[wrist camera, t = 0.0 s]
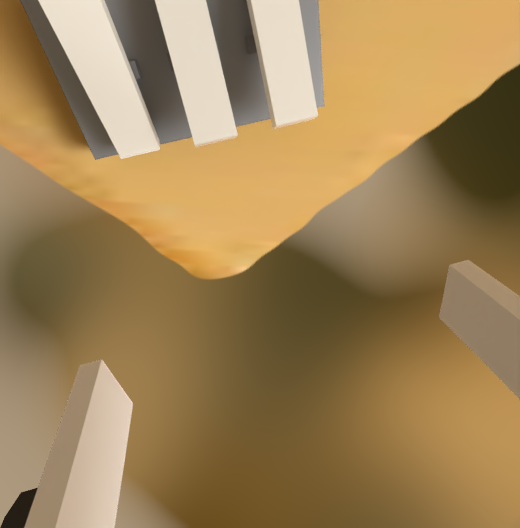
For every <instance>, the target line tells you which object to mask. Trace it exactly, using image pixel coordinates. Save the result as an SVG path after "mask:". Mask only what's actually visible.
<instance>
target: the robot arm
mask: <svg viewBox="0 0 520 528" xmlns="http://www.w3.org/2000/svg"><path fill="white" fill-rule="evenodd" d="M439 318H440V319H441V320H442V321H443V322H444V323H445V324H446V325H447V326H448V327H449V328H450V329H451V330H452V331H453V332H454V333H455V334H456V335H457V336H458V337H459V338H460V339H461V340H462V341H463V342H464V343H465V344H466V345H467V346H468V347H469V348H470V349H471V350H472V351H473V352H474V353H475V354H476V355H477V356H478V357H479V358H480V359H481V360H482V361H483V362H484V363H485V364H486V366H487V367H489V368H490V370H491V371H492V372H493V373H494V374H495V375H496V376H497V377H498V378H499V379H500V380H501V381H502V382H503V383H504V384H505V385H506V386H507V387H508V388H509V389H510V390H511V391H512V392H513V393H514V394H515V395H516V396H517V397H518V398H519V399H520V296H518V295H517V294H516V293H514V292H513V291H511V290H510V289H509V288H507V287H506V286H505V285H503V284H502V283H500V282H499V281H497V280H496V279H495V278H493V277H492V276H490V275H489V274H488V273H486V272H484V271H483V270H482V269H481V268H479V267H478V266H476V265H475V264H473V263H472V262H471V261H469V260H466V261H462V262H459V263H455V264H451V265H450V266H449V271H448V276H447V281H446V286H445V291H444V296H443V301H442V306H441V311H440V316H439ZM132 407H133V403H132V402H131V400H130V399H129V397H128V396H127V394H126V393H125V392H124V390H123V389H122V387H121V386H120V384H119V383H118V382H117V380H116V379H115V377H114V376H113V374H112V373H111V372H110V370H109V369H108V367H107V366H106V365H105V363H104V362H103V360H102V359H101V360H97V361H94V362H90V363H86V364H82V365H80V366H79V370H78V372H77V375H76V378H75V381H74V384H73V387H72V390H71V392H70V395H69V398H68V401H67V404H66V408H65V410H64V413H63V416H62V419H61V422H60V425H59V428H58V430H57V434H56V437H55V439H54V442H53V445H52V448H51V451H50V454H49V457H48V460H47V463H46V466H45V468H44V472H43V474H42V477H41V480H40V483H39V486H38V488H35V489H32V490H28V491H25V492H22V493H21V494H20V495H19V497H18V498H17V500H16V501H15V503H14V504H13V506H12V507H11V509H10V510H9V512H8V513H7V515H6V516H5V518H4V520H3V523H2V525H1V528H114V527H115V520H116V514H117V507H118V500H119V494H120V487H121V480H122V474H123V466H124V460H125V454H126V446H127V440H128V434H129V427H130V420H131V414H132Z"/></svg>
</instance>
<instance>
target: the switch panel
mask: <svg viewBox="0 0 520 528" xmlns="http://www.w3.org/2000/svg"><path fill="white" fill-rule="evenodd" d="M20 1H21V3H22V5H23V7H24V9H25V12H26V14H27V16H28V18H29V20H30V22H31V24H32V26H33V29H34V31H35V33H36V35H37V37H38V39H39V41H40V43H41V46H42V48H43V50H44V52H45V54H46V56H47V58H48V60H49V63H50V65H51V67H52V69H53V71H54V73H55V75H56V77H57V80H58V82H59V84H60V86H61V88H62V90H63V92H64V94H65V97H66V99H67V101H68V103H69V105H70V107H71V109H72V111H73V114H74V116H75V118H76V120H77V122H78V124H79V126H80V128H81V131H82V133H83V135H84V137H85V139H86V141H87V143H88V145H89V148H90V150H91V152H92V154H93V156H94V158H95V160H96V159H100V158H104V157H109V156H113V155H117V154H118V152H117V150H116V148H115V146H114V144H113V143H112V141H111V139H110V137H109V135H108V133H107V131H106V129H105V127H104V125H103V123H102V121H101V120H100V118H99V116H98V114H97V112H96V110H95V108H94V106H93V104H92V102H91V100H90V99H89V97H88V95H87V93H86V91H85V89H84V87H83V85H82V83H81V81H80V79H79V77H78V76H77V74H76V72H75V70H74V68H73V66H72V64H71V62H70V60H69V58H68V56H67V54H66V53H65V51H64V49H63V47H62V45H61V43H60V41H59V39H58V37H57V35H56V33H55V31H54V30H53V28H52V26H51V24H50V22H49V20H48V18H47V16H46V14H45V12H44V10H43V8H42V7H41V5H40V3H39V1H38V0H20ZM105 3H106V5H107V8H108V10H109V13H110V16H111V18H112V21H113V23H114V26H115V28H116V31H117V33H118V36H119V39H120V41H121V44H122V46H123V49H124V51H125V54H126V56H127V59H128V62H129V64H130V67H131V69H132V72H133V74H134V77H135V79H136V82H137V85H138V87H139V90H140V92H141V95H142V97H143V100H144V102H145V105H146V108H147V110H148V113H149V115H150V118H151V120H152V123H153V125H154V128H155V131H156V133H157V136H158V138H159V143H160V144H164V143H169V142H173V141H177V140H181V139H186V138H190V137H192V134H191V130H190V127H189V123H188V119H187V116H186V112H185V108H184V105H183V101H182V97H181V94H180V90H179V86H178V83H177V79H176V75H175V72H174V68H173V65H172V61H171V57H170V54H169V50H168V46H167V43H166V39H165V35H164V32H163V28H162V24H161V21H160V17H159V14H158V10H157V6H156V3H155V0H105ZM206 3H207V7H208V11H209V15H210V20H211V24H212V28H213V32H214V37H215V41H216V45H217V49H218V54H219V58H220V62H221V66H222V71H223V75H224V79H225V83H226V87H227V92H228V96H229V100H230V104H231V109H232V113H233V117H234V121H235V126H236V127H237V126H241V125H246V124H250V123H254V122H258V121H263V120H267V119H271V117H270V113H269V108H268V103H267V98H266V93H265V88H264V83H263V78H262V74H261V69H260V64H259V59H258V54H257V49H256V44H255V39H254V35H253V30H252V25H251V20H250V15H249V10H248V5H247V1H246V0H206ZM299 4H300V10H301V16H302V22H303V28H304V35H305V41H306V47H307V53H308V59H309V65H310V71H311V77H312V83H313V89H314V95H315V101H316V107H317V108H318V107H323V106H324V91H323V73H322V56H321V39H320V21H319V4H318V0H299Z"/></svg>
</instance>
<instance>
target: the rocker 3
mask: <svg viewBox="0 0 520 528" xmlns="http://www.w3.org/2000/svg"><path fill="white" fill-rule="evenodd" d="M246 1H247V5H248V10H249V15H250V20H251V25H252V30H253V35H254V39H255V44H256V49H257V54H258V59H259V64H260V69H261V74H262V78H263V83H264V88H265V93H266V98H267V103H268V108H269V113H270V117H271V122H272V127H273V129H275V128H279V127H284V126H288V125H292V124H296V123H301V122H305V121H309V120H313V119H314V118H316V117H318V113H317V107H316V101H315V95H314V89H313V83H312V77H311V71H310V65H309V59H308V53H307V47H306V41H305V35H304V28H303V22H302V16H301V10H300V4H299V0H246Z"/></svg>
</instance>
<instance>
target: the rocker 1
mask: <svg viewBox="0 0 520 528" xmlns="http://www.w3.org/2000/svg"><path fill="white" fill-rule="evenodd" d="M38 1H39V3H40V5H41V7H42V8H43V10H44V12H45V14H46V16H47V18H48V20H49V22H50V24H51V26H52V28H53V30H54V31H55V33H56V35H57V37H58V39H59V41H60V43H61V45H62V47H63V49H64V51H65V53H66V54H67V56H68V58H69V60H70V62H71V64H72V66H73V68H74V70H75V72H76V74H77V76H78V77H79V79H80V81H81V83H82V85H83V87H84V89H85V91H86V93H87V95H88V97H89V99H90V100H91V102H92V104H93V106H94V108H95V110H96V112H97V114H98V116H99V118H100V120H101V121H102V123H103V125H104V127H105V129H106V131H107V133H108V135H109V137H110V139H111V141H112V143H113V144H114V146H115V148H116V150H117V152H118V154H119V156H120V158H121V159H123V158H127V157H131V156H135V155H140V154H144V153H148V152H152V151H157V150H160V143H159V138H158V136H157V133H156V131H155V128H154V125H153V123H152V120H151V118H150V115H149V113H148V110H147V108H146V105H145V102H144V100H143V97H142V95H141V92H140V90H139V87H138V85H137V82H136V79H135V77H134V74H133V72H132V69H131V67H130V64H129V62H128V59H127V56H126V54H125V51H124V49H123V46H122V44H121V41H120V39H119V36H118V33H117V31H116V28H115V26H114V23H113V21H112V18H111V16H110V13H109V10H108V8H107V5H106V3H105V0H38Z"/></svg>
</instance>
